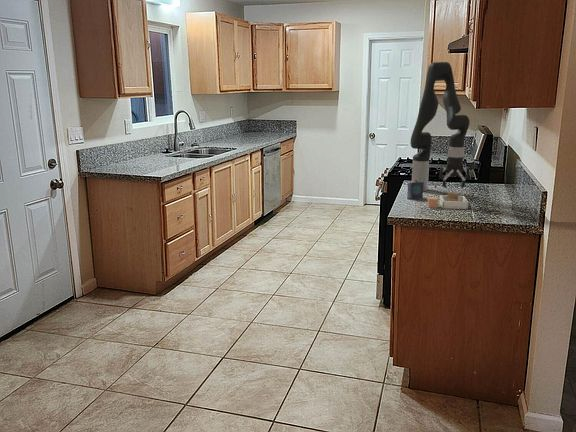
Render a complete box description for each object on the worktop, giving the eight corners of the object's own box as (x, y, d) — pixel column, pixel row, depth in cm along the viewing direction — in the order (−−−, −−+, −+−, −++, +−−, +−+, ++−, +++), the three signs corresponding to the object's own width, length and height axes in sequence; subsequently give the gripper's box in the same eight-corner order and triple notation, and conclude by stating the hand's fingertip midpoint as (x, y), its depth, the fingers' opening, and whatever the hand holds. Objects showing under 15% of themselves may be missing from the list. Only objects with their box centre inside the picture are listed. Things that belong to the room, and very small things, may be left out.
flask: (408, 199, 269) (409, 179, 266) (405, 198, 272) (406, 178, 269) (423, 198, 272) (424, 178, 269) (420, 197, 274) (421, 177, 272)
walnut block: (447, 200, 259) (447, 192, 258) (456, 201, 258) (456, 192, 257) (448, 202, 255) (448, 194, 254) (457, 203, 254) (458, 194, 253)
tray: (439, 201, 262) (439, 195, 261) (463, 202, 260) (463, 195, 259) (442, 208, 248) (442, 201, 247) (468, 209, 245) (468, 202, 244)
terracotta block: (427, 205, 254) (427, 197, 253) (436, 206, 253) (437, 197, 252) (428, 207, 249) (428, 199, 248) (437, 208, 249) (438, 199, 248)
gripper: (469, 154, 253) (466, 186, 257) (440, 154, 256) (438, 185, 260) (471, 157, 246) (469, 189, 250) (441, 156, 249) (439, 188, 253)
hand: (453, 187), depth 255 cm, fingers open, 8 cm apart
